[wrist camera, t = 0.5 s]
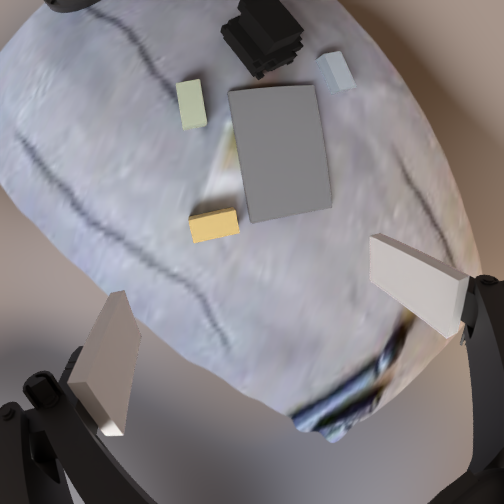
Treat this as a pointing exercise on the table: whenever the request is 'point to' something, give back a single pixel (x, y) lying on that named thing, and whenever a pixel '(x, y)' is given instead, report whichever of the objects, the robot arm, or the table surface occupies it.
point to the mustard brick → (213, 224)
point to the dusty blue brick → (336, 72)
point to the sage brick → (191, 104)
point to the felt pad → (280, 151)
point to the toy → (263, 35)
